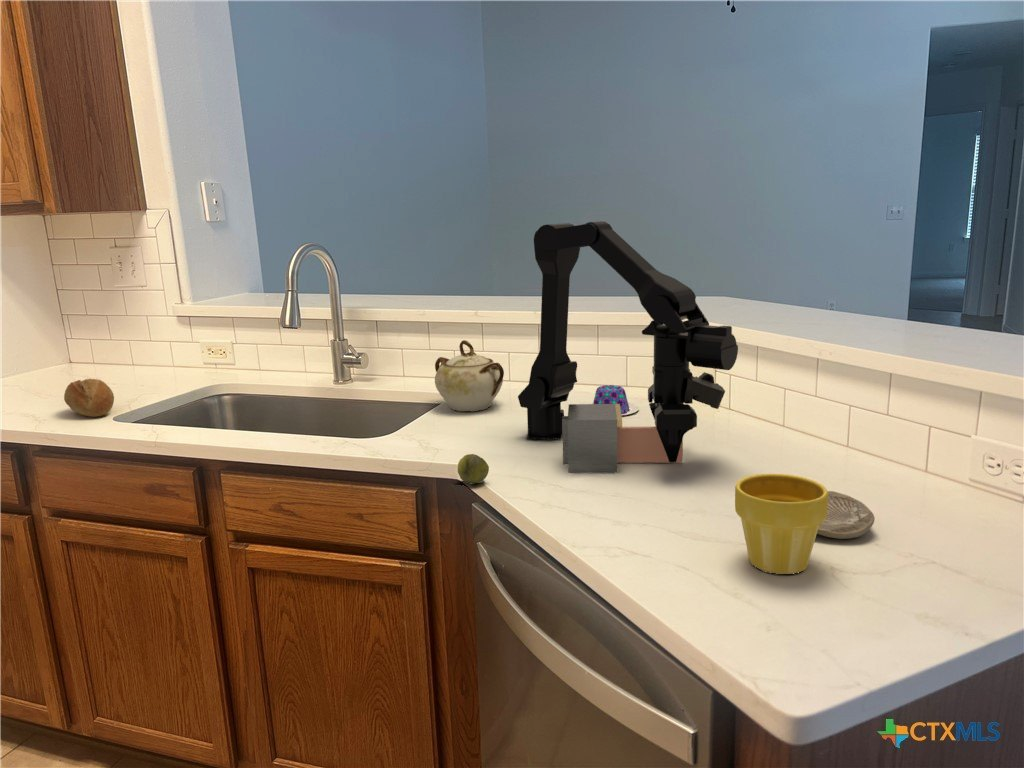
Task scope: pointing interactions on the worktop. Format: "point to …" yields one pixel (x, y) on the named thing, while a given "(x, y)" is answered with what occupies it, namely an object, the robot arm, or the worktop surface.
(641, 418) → the worktop surface
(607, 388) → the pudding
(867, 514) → the fossil
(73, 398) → the bread roll
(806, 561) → the plant pot
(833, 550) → the worktop surface
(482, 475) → the lime
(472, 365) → the sugar bowl
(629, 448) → the salmon pink plank
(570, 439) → the grey upright box
